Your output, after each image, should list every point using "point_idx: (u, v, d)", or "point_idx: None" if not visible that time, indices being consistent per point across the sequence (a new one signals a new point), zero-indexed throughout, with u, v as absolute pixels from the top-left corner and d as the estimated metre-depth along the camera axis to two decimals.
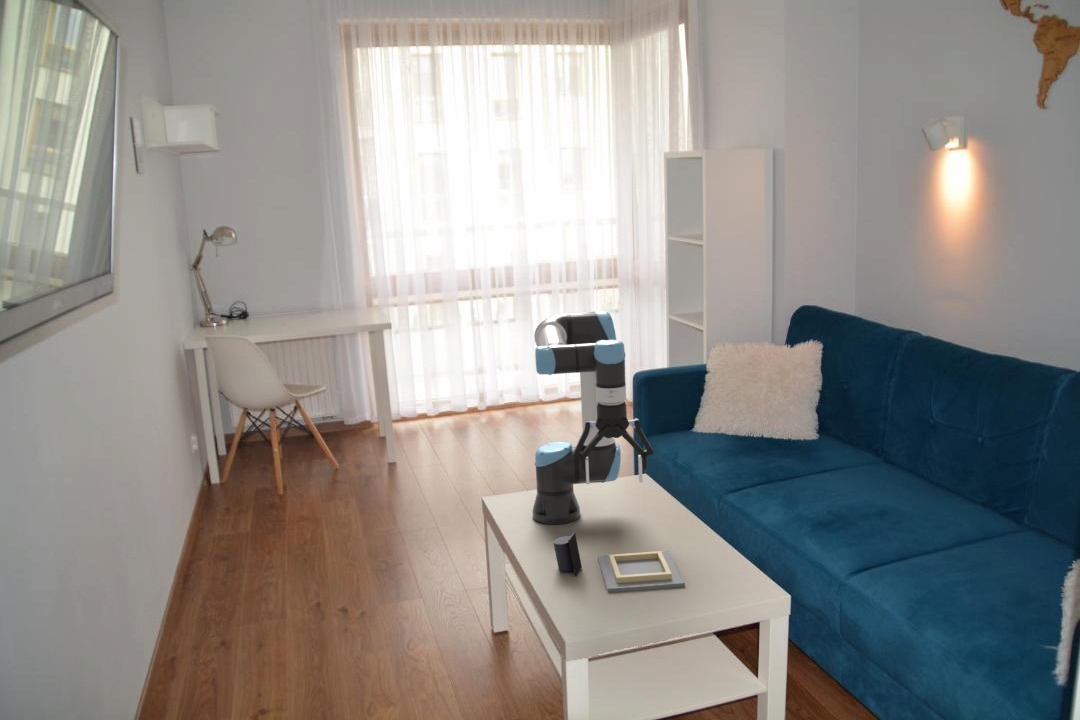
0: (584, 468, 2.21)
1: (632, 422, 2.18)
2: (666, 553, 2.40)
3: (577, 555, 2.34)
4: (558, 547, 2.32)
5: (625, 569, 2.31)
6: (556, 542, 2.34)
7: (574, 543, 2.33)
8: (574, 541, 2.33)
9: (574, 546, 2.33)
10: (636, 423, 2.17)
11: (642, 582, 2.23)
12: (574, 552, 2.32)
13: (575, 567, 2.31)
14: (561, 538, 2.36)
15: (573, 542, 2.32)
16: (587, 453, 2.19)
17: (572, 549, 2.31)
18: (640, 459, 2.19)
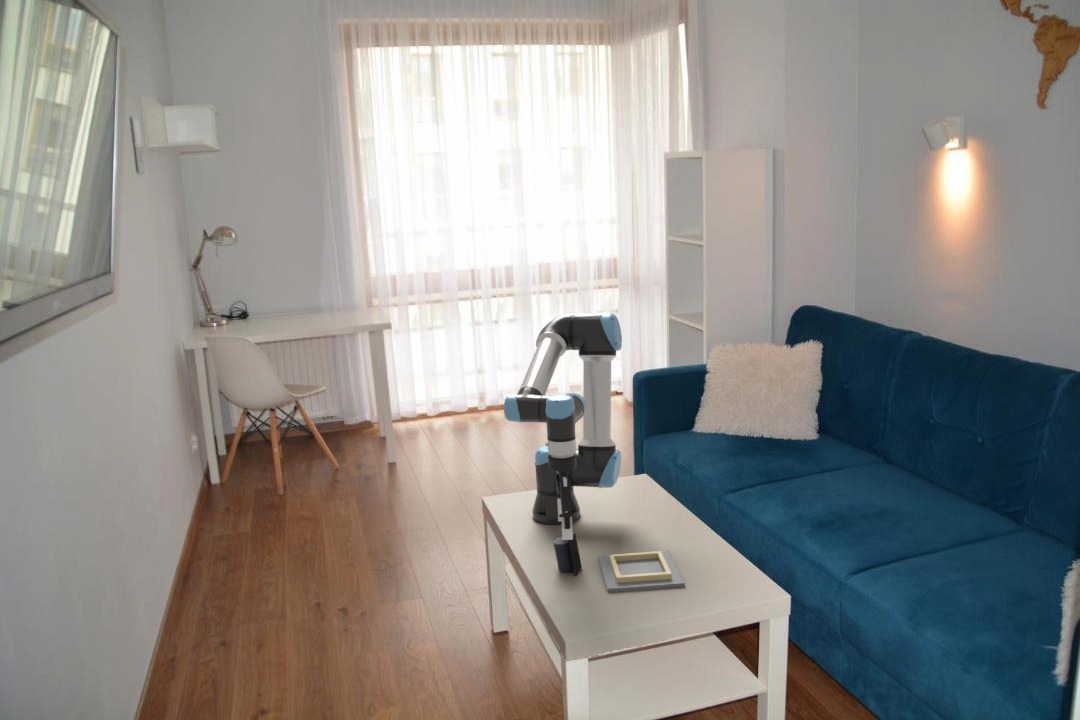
0: None
1: None
2: (666, 553, 2.40)
3: (577, 555, 2.34)
4: (558, 547, 2.32)
5: (625, 569, 2.31)
6: (556, 542, 2.34)
7: (574, 543, 2.33)
8: (574, 541, 2.33)
9: (574, 546, 2.33)
10: (560, 481, 2.24)
11: (642, 582, 2.23)
12: (574, 552, 2.32)
13: (575, 567, 2.31)
14: (561, 538, 2.36)
15: (573, 542, 2.32)
16: (557, 493, 2.37)
17: (572, 549, 2.31)
18: (561, 517, 2.24)
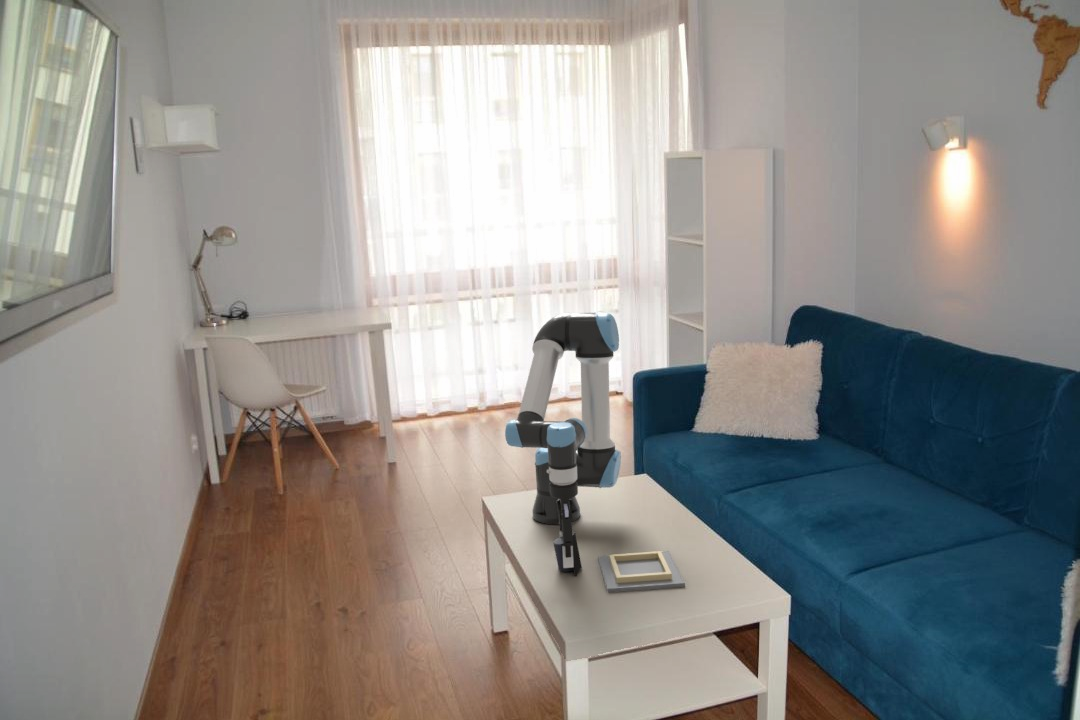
0: None
1: (564, 509, 2.26)
2: (666, 553, 2.40)
3: (577, 555, 2.34)
4: (558, 547, 2.32)
5: (625, 569, 2.31)
6: (556, 542, 2.34)
7: (574, 543, 2.33)
8: (574, 541, 2.33)
9: (574, 546, 2.33)
10: None
11: (642, 582, 2.23)
12: (574, 552, 2.32)
13: (575, 567, 2.31)
14: (561, 538, 2.36)
15: (573, 542, 2.32)
16: (559, 525, 2.37)
17: None
18: (562, 546, 2.29)
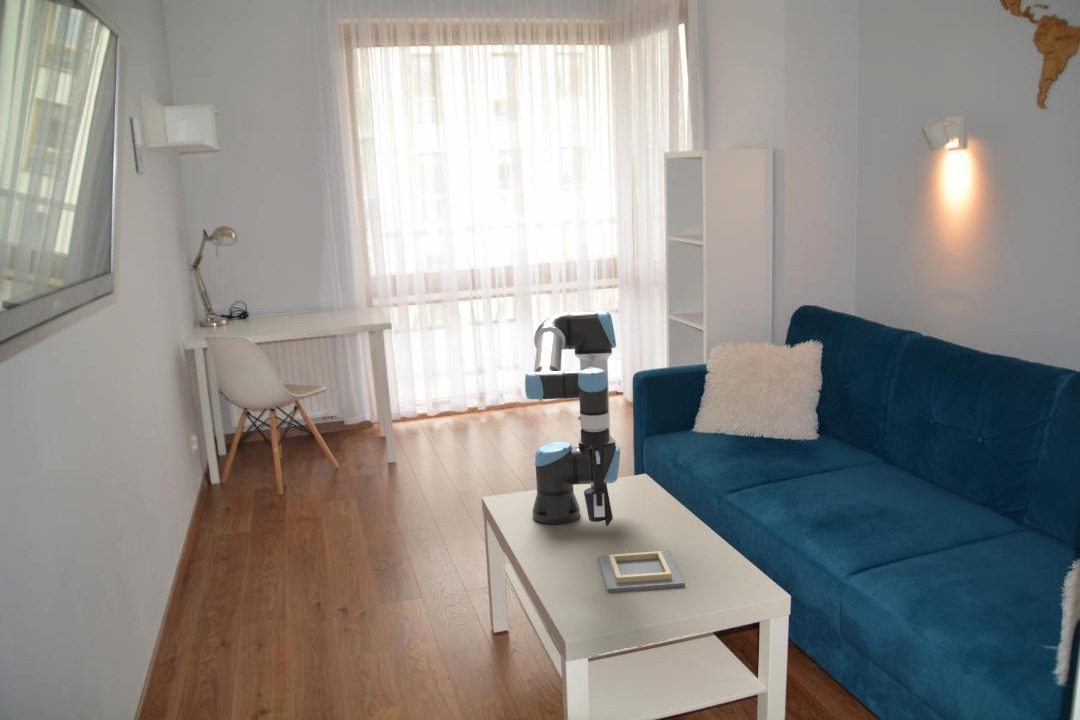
0: None
1: None
2: (666, 553, 2.40)
3: (608, 505, 2.29)
4: (589, 496, 2.27)
5: (625, 569, 2.31)
6: (587, 491, 2.29)
7: (605, 493, 2.28)
8: (605, 490, 2.28)
9: (605, 495, 2.28)
10: (593, 459, 2.20)
11: (642, 582, 2.23)
12: (605, 501, 2.27)
13: (606, 517, 2.26)
14: (592, 488, 2.31)
15: None
16: (590, 475, 2.32)
17: None
18: (593, 494, 2.24)
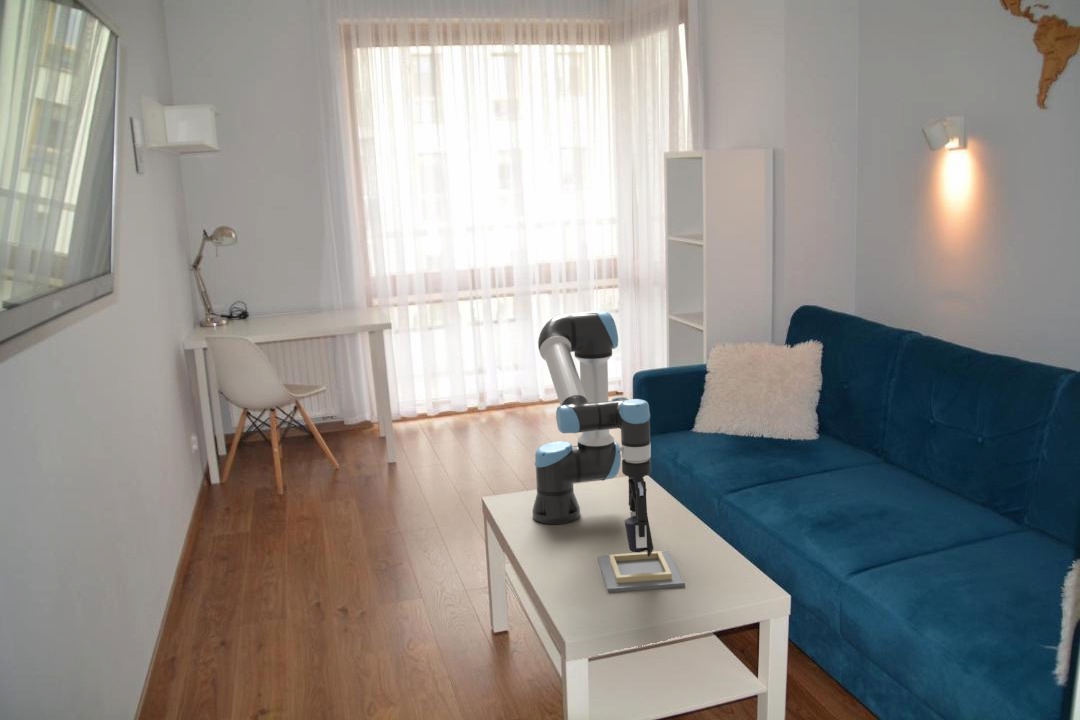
0: None
1: (638, 487, 2.21)
2: (666, 553, 2.40)
3: (649, 535, 2.29)
4: (630, 526, 2.27)
5: (625, 569, 2.31)
6: (628, 522, 2.28)
7: None
8: None
9: (647, 526, 2.28)
10: (636, 490, 2.20)
11: (642, 582, 2.23)
12: (646, 532, 2.27)
13: (648, 547, 2.26)
14: (632, 518, 2.31)
15: None
16: (630, 505, 2.32)
17: None
18: (635, 525, 2.24)
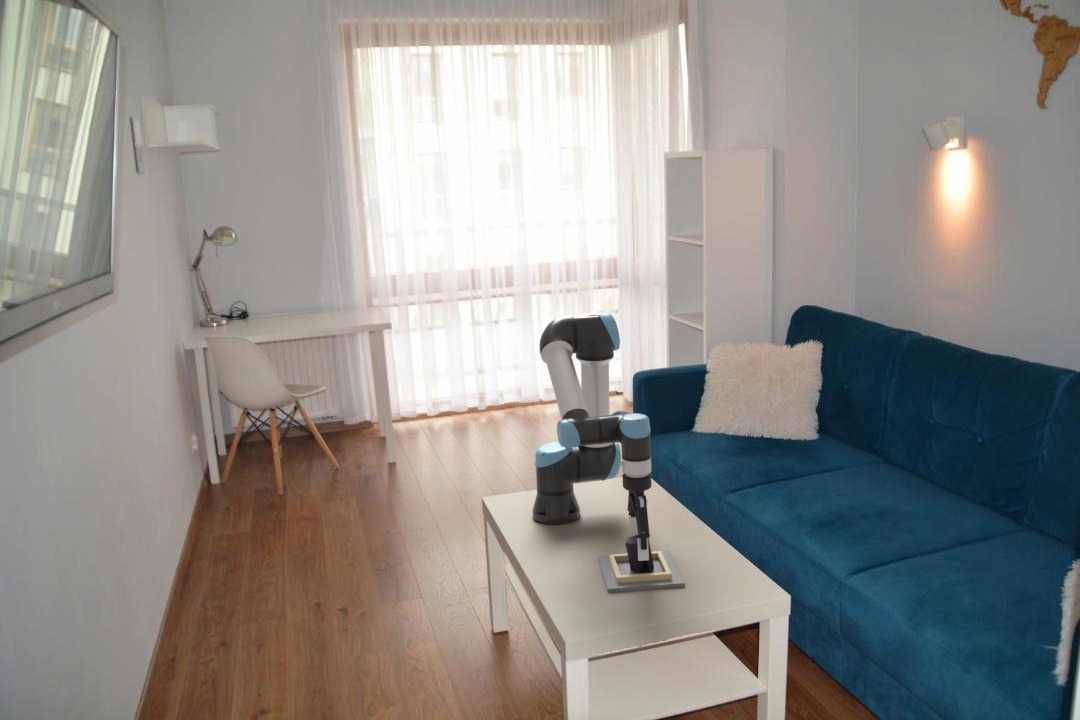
0: None
1: None
2: (666, 553, 2.40)
3: (650, 554, 2.29)
4: (631, 546, 2.28)
5: (625, 569, 2.31)
6: (628, 541, 2.29)
7: None
8: None
9: None
10: None
11: (642, 582, 2.23)
12: None
13: (649, 567, 2.27)
14: (632, 537, 2.31)
15: None
16: (629, 511, 2.34)
17: None
18: (637, 538, 2.22)
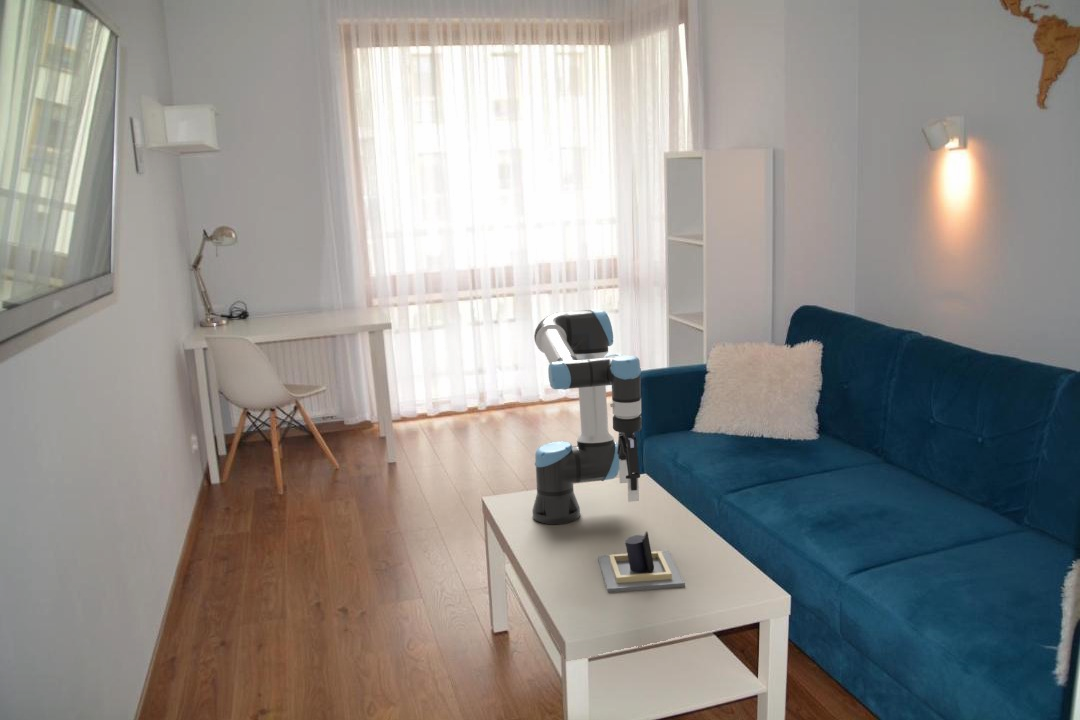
0: None
1: None
2: (666, 553, 2.40)
3: (650, 555, 2.29)
4: (631, 546, 2.28)
5: (625, 569, 2.31)
6: (628, 542, 2.29)
7: (647, 543, 2.29)
8: (647, 540, 2.29)
9: (647, 545, 2.29)
10: (626, 442, 2.20)
11: (642, 582, 2.23)
12: (647, 551, 2.28)
13: (649, 567, 2.27)
14: (632, 537, 2.31)
15: (646, 541, 2.28)
16: (619, 454, 2.34)
17: (646, 548, 2.26)
18: (627, 478, 2.22)
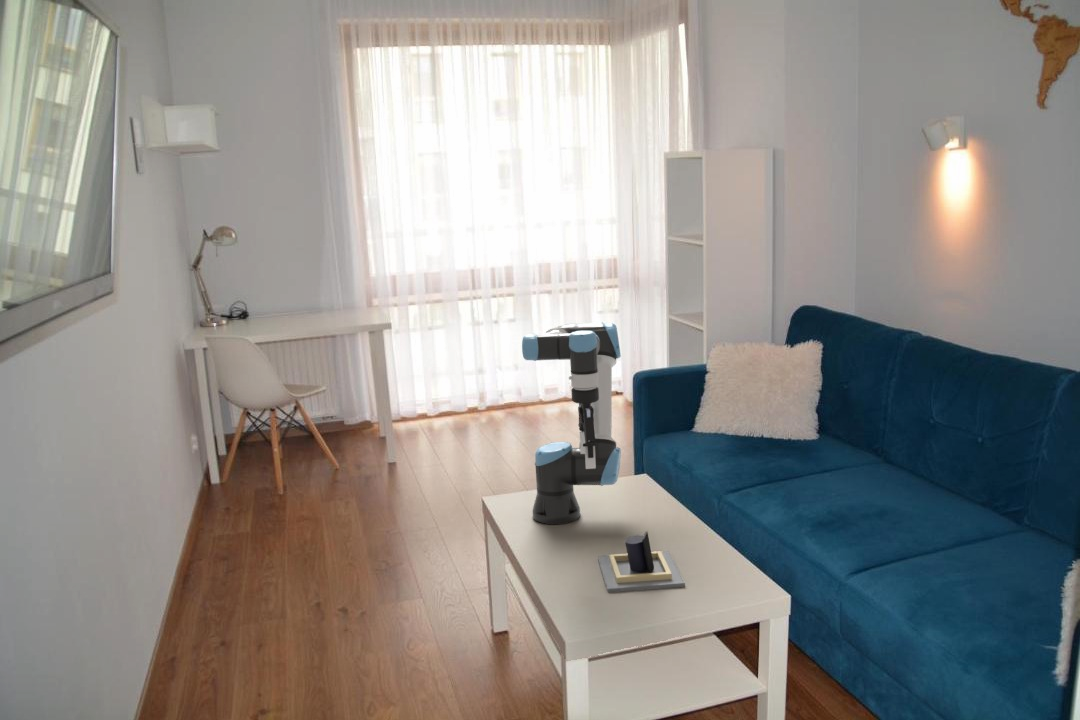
0: None
1: None
2: (666, 553, 2.40)
3: (650, 555, 2.29)
4: (631, 546, 2.28)
5: (625, 569, 2.31)
6: (628, 542, 2.29)
7: (647, 543, 2.29)
8: (647, 540, 2.29)
9: (647, 545, 2.29)
10: (583, 412, 2.33)
11: (642, 582, 2.23)
12: (647, 551, 2.28)
13: (649, 567, 2.27)
14: (632, 537, 2.31)
15: (646, 541, 2.28)
16: (580, 426, 2.47)
17: (646, 548, 2.26)
18: (584, 447, 2.34)
